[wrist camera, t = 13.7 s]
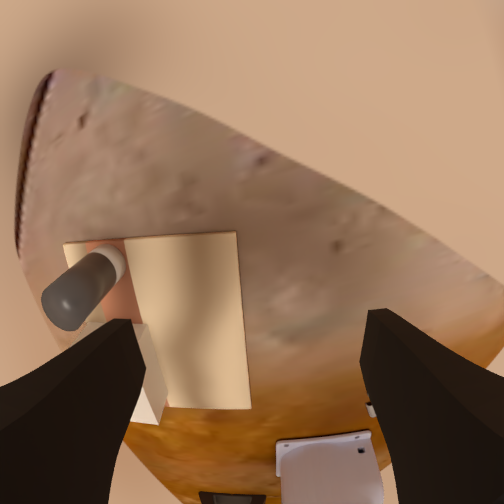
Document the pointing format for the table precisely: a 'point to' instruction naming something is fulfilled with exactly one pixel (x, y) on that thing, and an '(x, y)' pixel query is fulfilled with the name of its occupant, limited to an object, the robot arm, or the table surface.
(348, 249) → the table surface
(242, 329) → the panel
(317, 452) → the robot arm
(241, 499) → the phone stand
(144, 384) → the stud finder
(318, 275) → the table surface
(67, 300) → the grey capped cylinder
